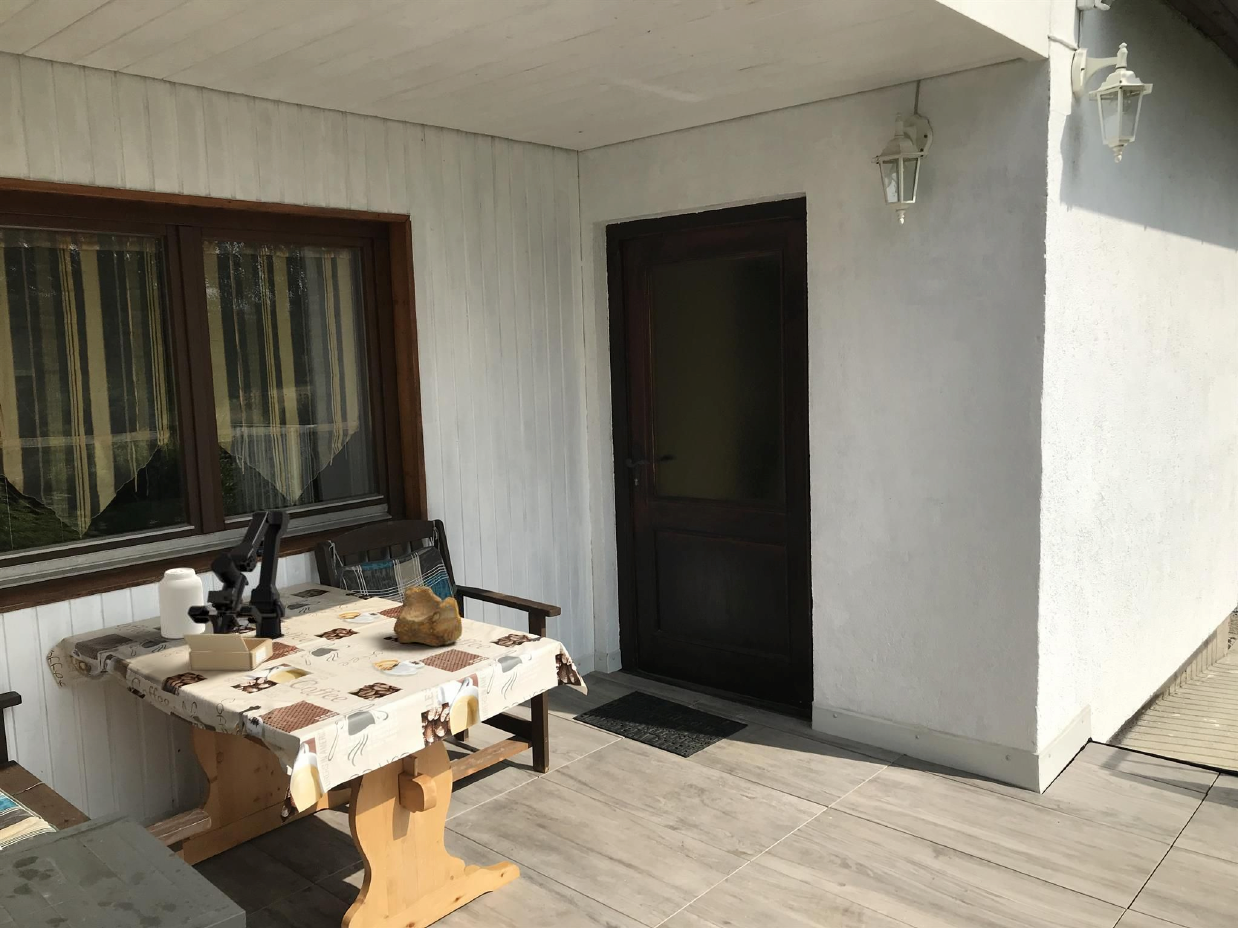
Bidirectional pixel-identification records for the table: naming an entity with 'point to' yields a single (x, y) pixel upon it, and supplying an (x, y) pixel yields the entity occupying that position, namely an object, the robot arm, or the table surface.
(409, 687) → the table surface
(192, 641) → the flap
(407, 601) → the rough brown rock
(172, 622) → the white jar
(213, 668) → the carton
